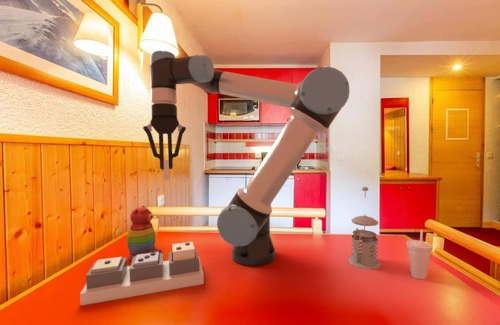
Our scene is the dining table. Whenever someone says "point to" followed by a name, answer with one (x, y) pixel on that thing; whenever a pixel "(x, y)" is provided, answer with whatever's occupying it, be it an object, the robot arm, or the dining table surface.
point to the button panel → (141, 279)
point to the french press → (364, 243)
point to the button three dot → (146, 259)
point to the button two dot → (183, 251)
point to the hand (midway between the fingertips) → (166, 179)
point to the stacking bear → (141, 233)
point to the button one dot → (107, 264)
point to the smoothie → (419, 257)
